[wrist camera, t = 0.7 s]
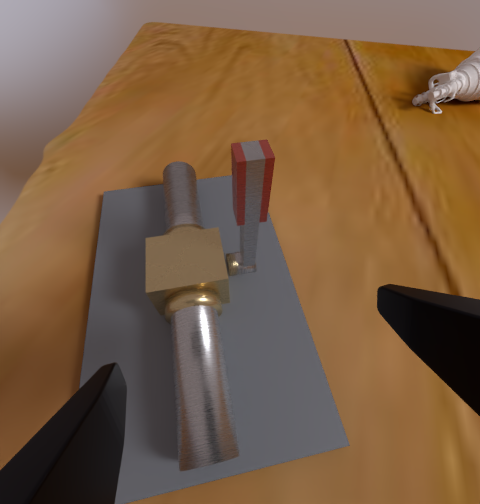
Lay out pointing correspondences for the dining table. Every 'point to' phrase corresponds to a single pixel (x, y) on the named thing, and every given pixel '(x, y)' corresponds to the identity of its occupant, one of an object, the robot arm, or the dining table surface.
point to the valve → (193, 321)
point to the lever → (249, 199)
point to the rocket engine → (454, 84)
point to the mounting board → (233, 339)
